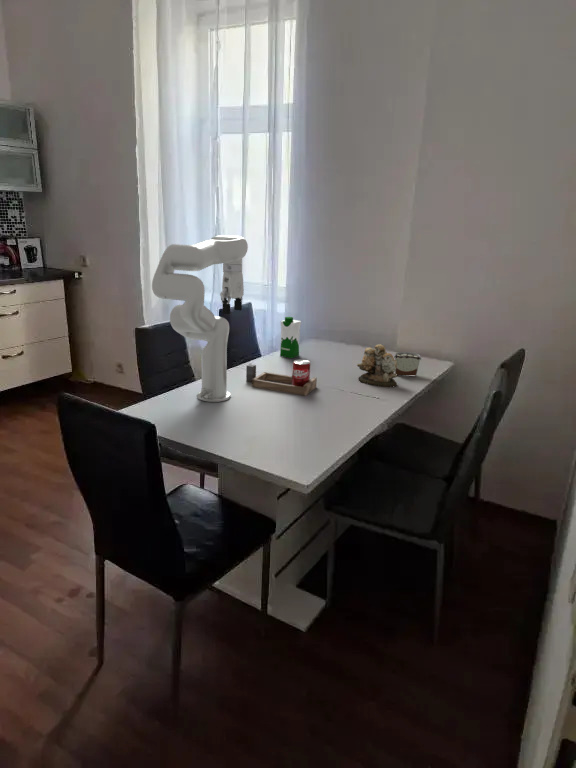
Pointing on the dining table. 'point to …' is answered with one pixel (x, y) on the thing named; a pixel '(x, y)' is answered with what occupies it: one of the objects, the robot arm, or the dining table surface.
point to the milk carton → (290, 337)
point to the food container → (407, 363)
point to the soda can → (300, 372)
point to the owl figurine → (378, 367)
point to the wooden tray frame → (261, 382)
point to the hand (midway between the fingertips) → (232, 311)
